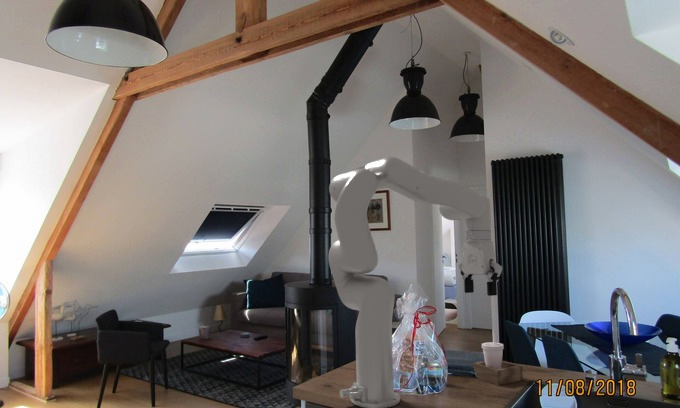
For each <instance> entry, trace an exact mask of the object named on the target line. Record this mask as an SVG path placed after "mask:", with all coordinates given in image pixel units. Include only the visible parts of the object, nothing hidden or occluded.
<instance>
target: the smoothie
mask: <svg viewBox="0 0 680 408" xmlns="http://www.w3.org/2000/svg"><path fill="white" fill-rule="evenodd" d="M492 339H493V341H491V342H489V341H488V342H483V343H481V348H482V352H483V357H484V361H485V365H486V366H488V367H491V368H494V369H501V366H502V361H503V350H504V349H505V347H504V343H500V342H496V332H495V329H494V328H493V329H492Z"/></svg>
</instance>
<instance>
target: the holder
mask: <svg viewBox="0 0 680 408" xmlns="http://www.w3.org/2000/svg"><path fill="white" fill-rule="evenodd" d="M484 365H485V360H484V361H477V362H471V367H472V366H473V368H474V371H475V372H476V373H477V374H476V377H477V378H479V379H478V380H480V379H481V380H480V381H483V380H484V382H486V381H487V382H486V383H489V382H490V383H489V384H492V383H493V384H492V385H496V386H498V385H499V386H502V385H501V384H503V385H506V384H505V383H508V384H510V383H509V382H512V383H516V382H515V381H517V382H521V380H522V381H524V373H523V372H524V370H523V368H524V366H523V365H521V364H520V365H519V364H516V363H513V362H509V361H506V360H502V366H501V369H494V368H491V367H488V366H484ZM477 378H476V379H477Z"/></svg>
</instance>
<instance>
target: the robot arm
mask: <svg viewBox="0 0 680 408" xmlns="http://www.w3.org/2000/svg"><path fill="white" fill-rule="evenodd" d="M328 189H329V190H328V191H329V194H330V195H329V196H330V197H331V198H332V199H333V201H335V202H336V203H335V204H336V205H335V208H334V209H335V210H334V214H333V215H334V216H333V217H334V224H335V230H336V234H337V237H338V239H337V240H336V241H335V242H333V243H332V244H331V246H330V248H329V251H328V266H329V268H330V272H331V275H332V277H333V278H332V279H333V280H334V281H333V282H334V286H335V288H336V291H337V294H338V297H339V299H340V301H341V303H342V304H343V305H344V306H346V307H347V308H348V309H351V310H353V311H359V312H358V315H357V320H356V323H355V331H354V332H355V363H356V364H355V366H356V367H355V368H356V370H355V372H356V382H353V383H352V386H350V388H343V389H342V388H341V389H340V390H339V397H340V398H341V399H343V398H347V397H348V398H349V399H350V401H351V403H353V405H355V406H357V407H361V408H391V407H394V406H396V405H398V404H399V403H400V402H401V395H400V394H399V393H397V391H394V388H395V387H394V359H393V358H394V357H393V313H394V307H395V300H396V299H395V298H396V297H395V290H394V288H393V286H392V285H391V284H390V282H388V281H387V280H386V279H384V278H382V277H380V276H379V277H378V276H372V275H371V276H370V275H365V274H368V273H371V272H373V271H374V270H375V269H376V268H377V266H378V263H379V262H378V261H379V255H378V252H377V251H378V250H377V248H376V245H375V241H374V238H373V235H372V232H371V229H370V225H369V220H368V208H369V205H370V203H371V200H372V198H373V197H374V196H375V194H376V192H377V191H378V190H379V191H380V190H383V189H389V190H391V191H394V192H396V193H398V194H400V195H402V196H404V197H406V198H408V199H409V200H411V201H413V202H415V203H420V204H426V205H439V210H438V211H439V213H440V215H441V217H443V218H444V219H446V220H449V221H461V220H464V221H465V222H464V223H465V224H464V225H465V234H464V236H465V241H464V242H463V247H462V259H461V260H462V261H461V263H460V264H459V265H458V268H459V271H460V275H461V276H462V280H463V283H464V284H463V286H464V287H463V288H464V289H463V290H464V294H470V293H471V294H472V293H474V292H475V291H474V289H475V288H474V287H475V285H474V279H473V277H474V276H485V277H486V279H487V280H488V281H486V291H487V292H486V294H487V296H490V297H491V296H492V297H493V296H497V295H498V287H497V286H498V284H497V282H498V281H499V279H500V278H501V274H502V271H503V266H502V265H500V264H499V263H497V261H496V252H495V247H494V243H493V241H492V218H491V217H492V216H491V200H490V198H489V197H487V196H485V195H483V196H482V195H481V194H480V193H479V192H477V191H475V190H474V189H472V188H470V187H469V186H467V185H465V184H462V183H459V182H456V181H453V180H449V179H446V178H442V177H438V176H433V175H430V174H428V173H426V172H424V171H423V170H420V169H419V168H417V167H415V166H413V165H411V164H410V163H407V162H406V161H404V160H402V159H400V158H398V157H395V156H385V157H382V158H379V159H375V160H373V161H370V162H368V163H366V164H362V165H361V166H358V167H356V168H355V167H354V168H353V169H350V170H348V171H345V172H342V173H339V174H337V175H336V176H334V177H333V178H332V179H331V181H330V184H329V187H328Z"/></svg>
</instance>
